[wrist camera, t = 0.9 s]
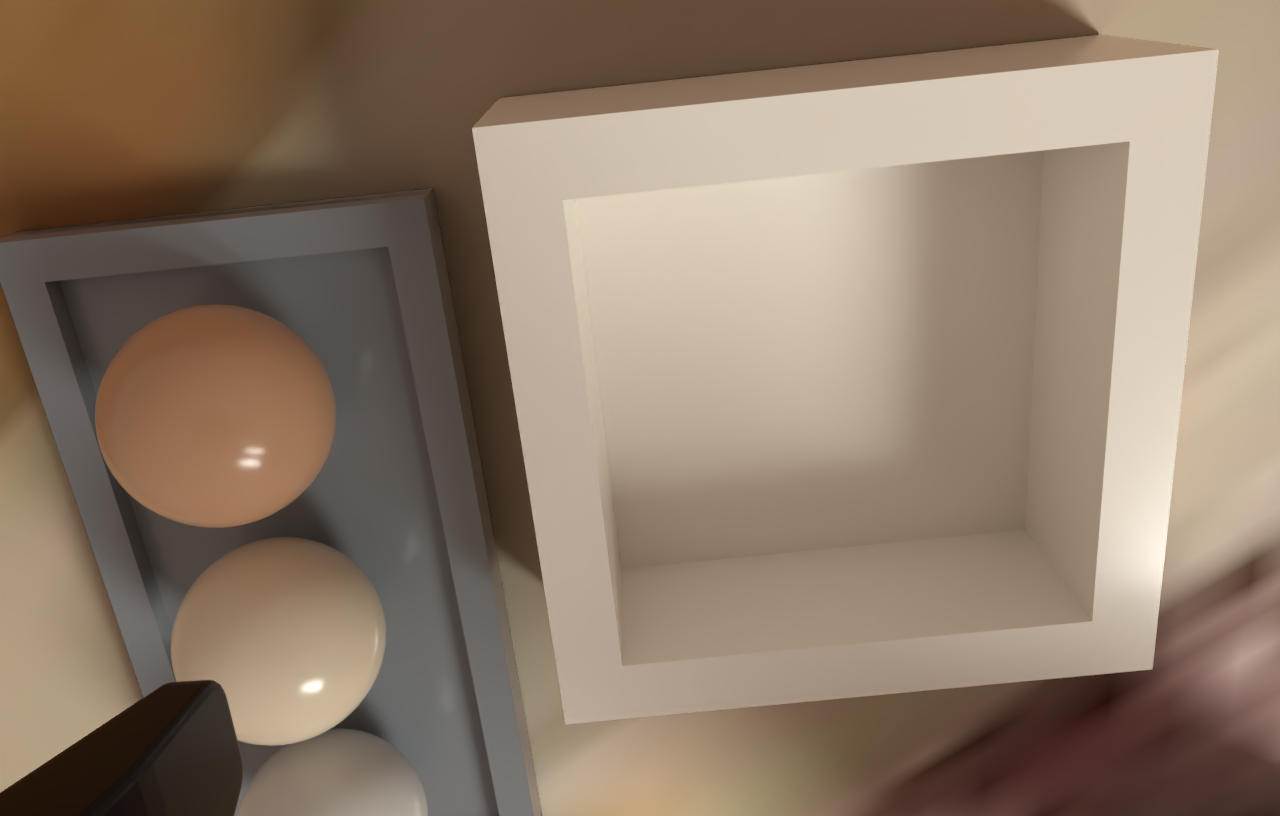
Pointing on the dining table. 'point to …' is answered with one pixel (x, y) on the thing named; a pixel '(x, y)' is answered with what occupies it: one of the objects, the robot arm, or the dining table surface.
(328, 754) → the glossy white ball
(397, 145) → the dining table surface
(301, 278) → the slate tray
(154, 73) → the dining table surface
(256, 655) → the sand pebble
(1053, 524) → the stoneware dish
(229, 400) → the orange tan ball
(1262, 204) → the dining table surface
